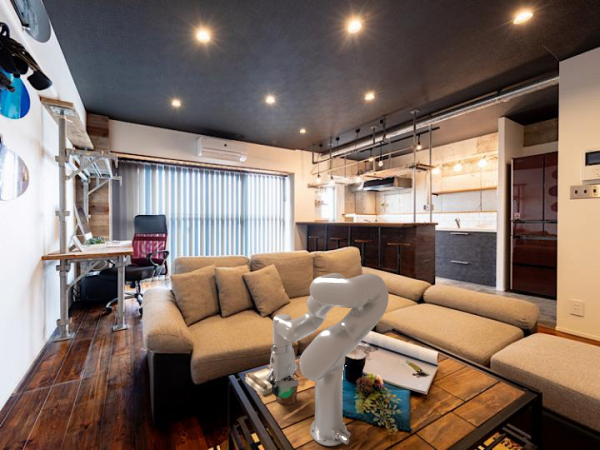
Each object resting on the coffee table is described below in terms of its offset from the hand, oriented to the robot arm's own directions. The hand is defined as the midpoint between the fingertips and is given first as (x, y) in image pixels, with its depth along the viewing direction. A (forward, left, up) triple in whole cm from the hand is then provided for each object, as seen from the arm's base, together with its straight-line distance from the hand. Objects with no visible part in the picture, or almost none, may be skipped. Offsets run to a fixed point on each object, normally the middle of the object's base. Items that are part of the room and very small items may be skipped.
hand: (282, 391), depth 111 cm
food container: (0, 0, -4) cm, 4 cm away
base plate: (+15, -3, -4) cm, 16 cm away
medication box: (-23, -60, -5) cm, 64 cm away
